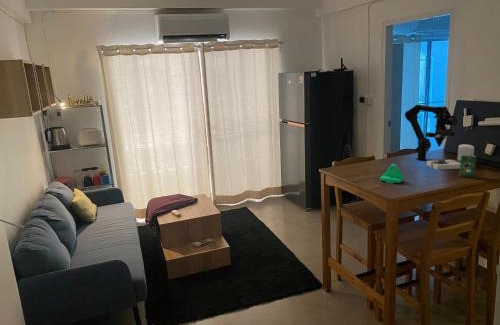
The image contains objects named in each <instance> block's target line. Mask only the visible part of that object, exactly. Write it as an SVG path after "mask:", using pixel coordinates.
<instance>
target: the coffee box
mask: <svg viewBox="0 0 500 325" xmlns="http://www.w3.org/2000/svg"><path fill="white" fill-rule="evenodd" d="M459 162H460V169H459V173H458V176H459V177H462V178H463V177H464V178H465V177H466V178H467V177H468V178H469V177H470V178H471V177H472V178H474V177H475V172H476V164H477V156H476V155H474V156H466V155H461V161H459Z"/></svg>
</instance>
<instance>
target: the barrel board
mask: <svg viewBox="0 0 500 325" xmlns="http://www.w3.org/2000/svg"><path fill="white" fill-rule="evenodd" d="M444 160H445V164H437V163H435V160H426V166H427V167H430V168H432V169H435V170H439V171H440V170H457V169H459V170H460V162H461V161H458V160H454V159H444Z"/></svg>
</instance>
